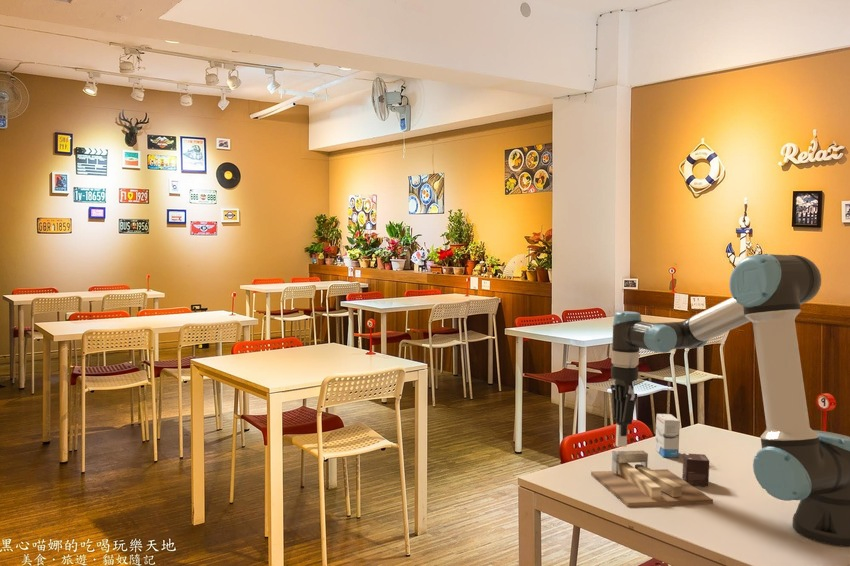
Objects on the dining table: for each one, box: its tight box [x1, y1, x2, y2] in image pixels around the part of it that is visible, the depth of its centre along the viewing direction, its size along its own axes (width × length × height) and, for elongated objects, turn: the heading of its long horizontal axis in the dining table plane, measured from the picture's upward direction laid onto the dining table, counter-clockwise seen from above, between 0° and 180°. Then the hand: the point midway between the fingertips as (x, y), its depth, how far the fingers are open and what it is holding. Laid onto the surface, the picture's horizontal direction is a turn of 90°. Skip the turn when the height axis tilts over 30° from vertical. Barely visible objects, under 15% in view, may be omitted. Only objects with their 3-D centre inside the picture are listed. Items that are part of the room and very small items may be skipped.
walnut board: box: [590, 469, 714, 508], centre depth 190 cm, size 24×23×1 cm
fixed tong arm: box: [618, 463, 661, 499], centre depth 190 cm, size 22×2×3 cm, turn 9°
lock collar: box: [611, 450, 649, 475], centre depth 199 cm, size 3×9×6 cm, turn 99°
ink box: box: [654, 413, 681, 458], centre depth 222 cm, size 8×5×12 cm, turn 179°
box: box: [681, 453, 710, 487], centre depth 196 cm, size 6×6×7 cm
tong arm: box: [634, 463, 682, 497], centre depth 189 cm, size 18×2×3 cm, turn 16°
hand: (621, 445), depth 204 cm, fingers closed
